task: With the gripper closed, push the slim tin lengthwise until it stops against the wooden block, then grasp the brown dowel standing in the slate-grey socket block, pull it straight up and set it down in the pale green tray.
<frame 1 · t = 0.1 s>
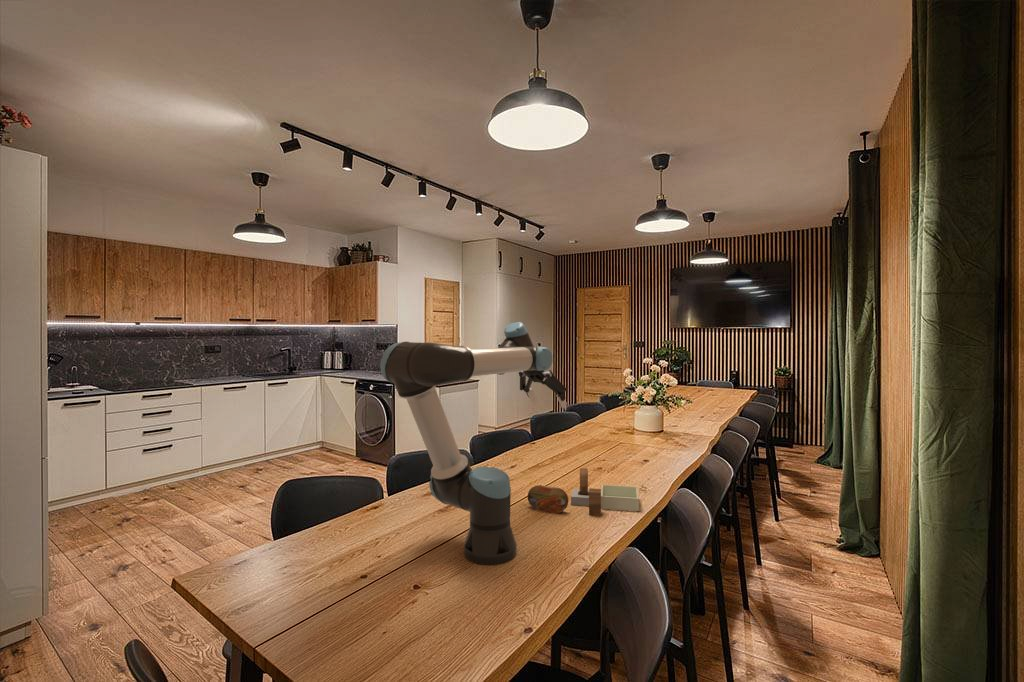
hand: (549, 404, 182), 36 cm above the table, tool tilted 35°, fingers open, 13 cm apart
wooden block: (595, 513, 167), on the table
tin: (548, 510, 170), on the table
tray: (619, 503, 176), on the table
dowel: (583, 485, 178), in the socket block
socket block: (583, 501, 179), on the table
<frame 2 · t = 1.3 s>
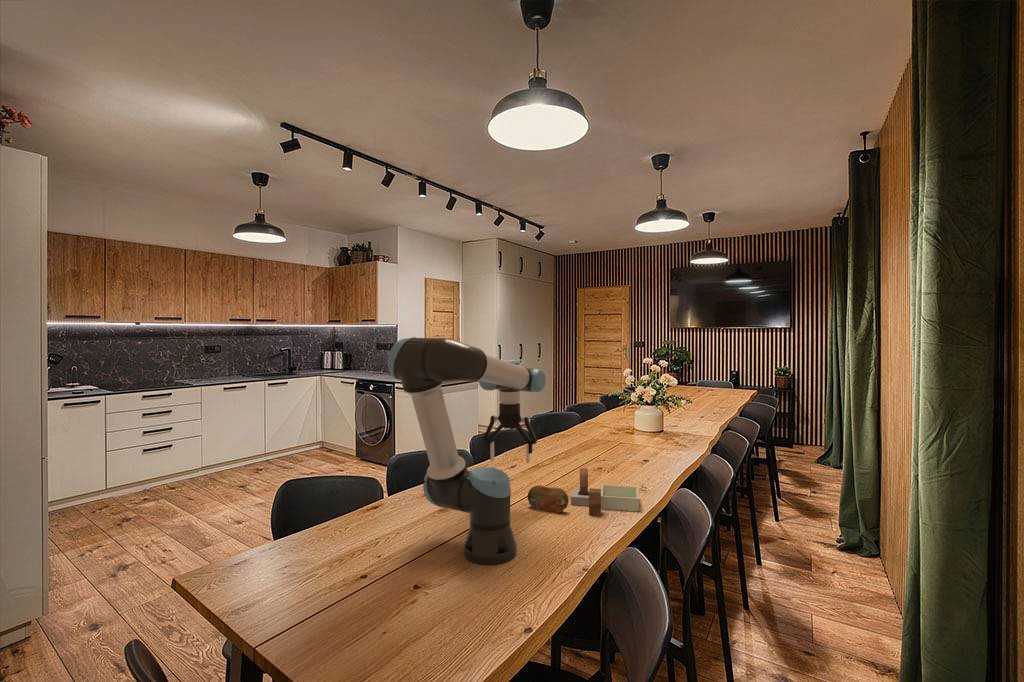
hand: (510, 461, 173), 17 cm above the table, tool pointing down, fingers open, 12 cm apart
nothing on the table moved.
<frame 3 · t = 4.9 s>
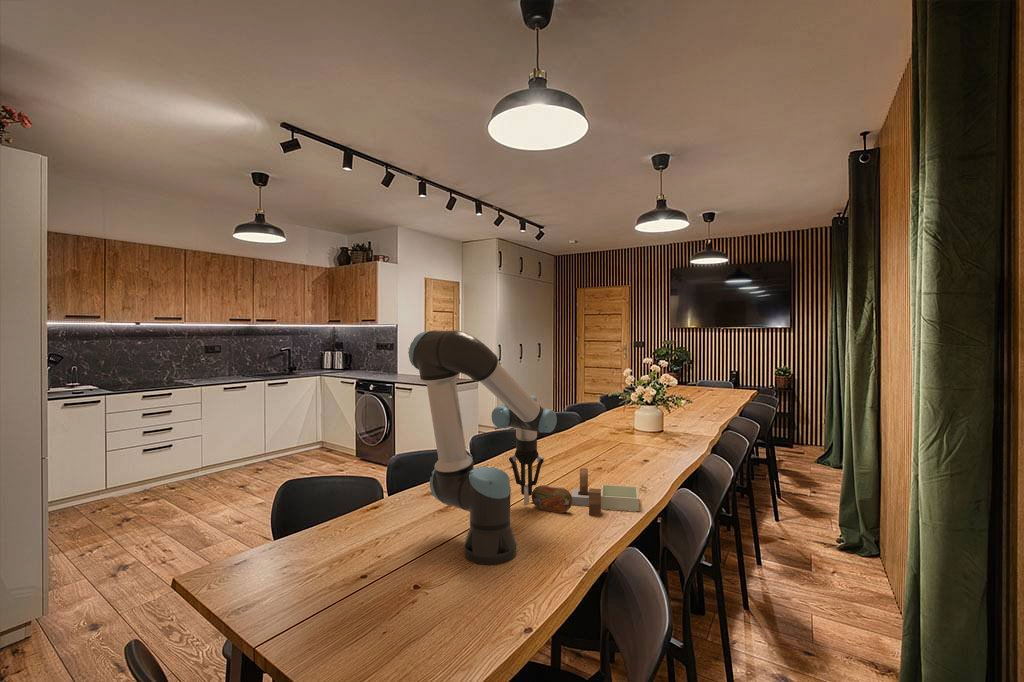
hand: (526, 503, 172), 2 cm above the table, tool pointing down, fingers closed
tin: (552, 510, 170), on the table, touching gripper
everything else where it was.
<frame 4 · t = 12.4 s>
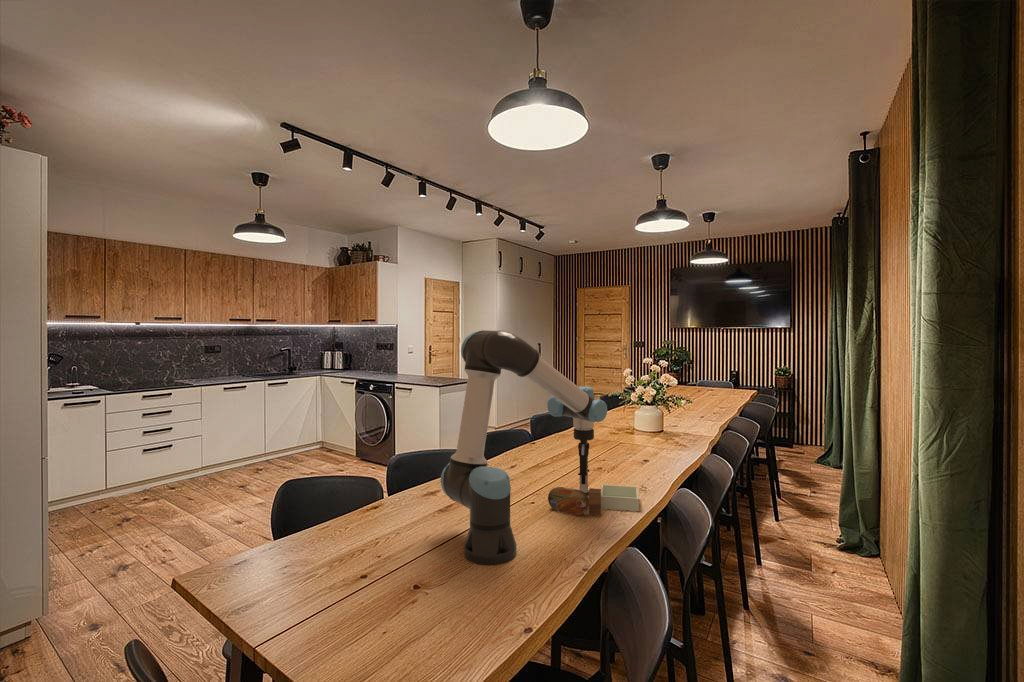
hand: (583, 490, 178), 4 cm above the table, tool pointing down, fingers closed on dowel, 2 cm apart
tin: (568, 512, 168), on the table
dowel: (583, 485, 178), in the socket block, touching gripper
when the fingers open (6 cm above the table, at t = 16.6 s): dowel drops 2 cm, resting on tray.
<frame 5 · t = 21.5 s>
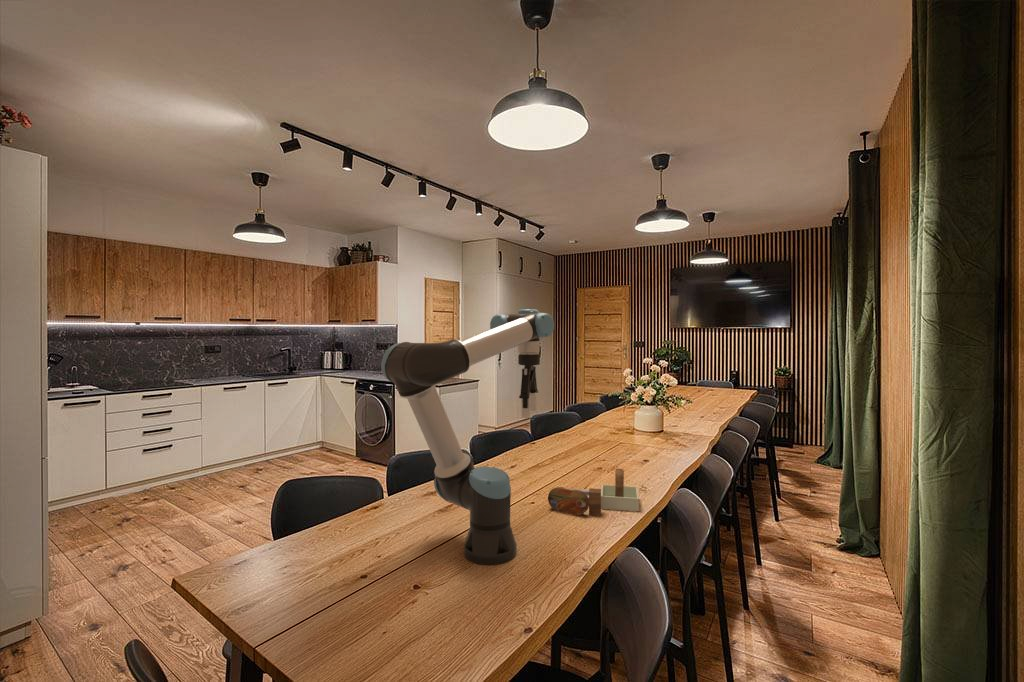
hand: (529, 414, 167), 35 cm above the table, tool pointing down, fingers open, 13 cm apart
dowel: (619, 485, 176), in the tray, point 7 cm above the table
everything else where it was.
at the end: dowel inside the target area on the tray (0.0 cm from its centre), point 6.6 cm above the tray's base; tin 9.2 cm from the wooden block (horizontally); the gripper is holding nothing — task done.
